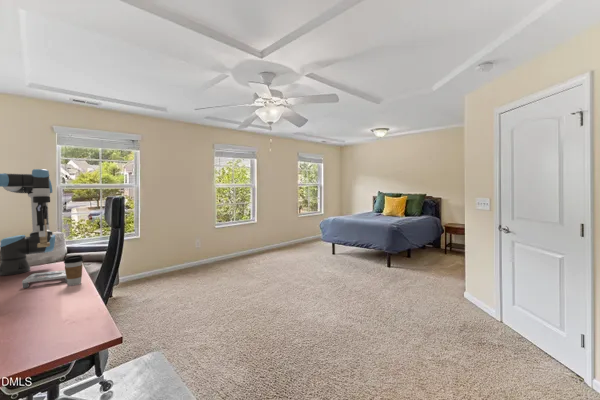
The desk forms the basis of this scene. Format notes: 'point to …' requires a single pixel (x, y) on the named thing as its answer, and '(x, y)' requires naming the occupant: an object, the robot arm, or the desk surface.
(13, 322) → the desk surface
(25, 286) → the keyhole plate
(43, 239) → the beech peg
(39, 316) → the desk surface
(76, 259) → the coffee cup
